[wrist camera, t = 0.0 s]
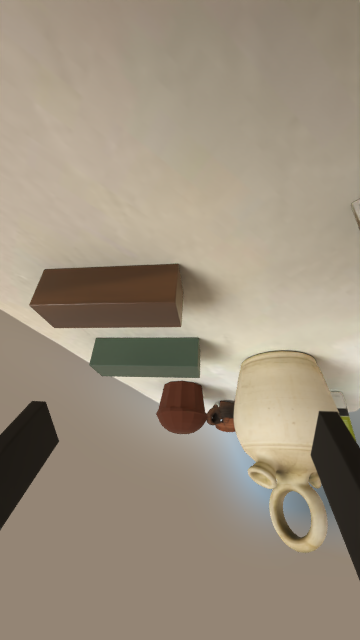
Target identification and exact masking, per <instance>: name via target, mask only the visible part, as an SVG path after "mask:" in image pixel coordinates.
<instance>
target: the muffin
mask: <svg viewBox="0 0 360 640" xmlns="http://www.w3.org/2000/svg"><path fill="white" fill-rule="evenodd" d="M157 416H158V419H159V421H160V423H161V425H162V426H163V427H164V428H165V429H167V430H168V431H170V432H173V433H177V434H190V433H194V432H195V431H197V430H199V429H200V428H201V427H202V426H203V425H204V423H205V421H206V420H207V418H208V415H207V414H206V413H205V408H204V401H203V393H202V386H201V385H198V384H196V383H194V382H185V381H177V382H169V383H167V384H165V385H164V389H163V393H162V397H161V402H160V406H159V410H158V411H157Z"/></svg>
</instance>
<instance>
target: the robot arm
mask: <svg viewBox="0 0 360 640" xmlns="http://www.w3.org/2000/svg"><path fill="white" fill-rule="evenodd" d="M58 442H59V440H58V437H57V434H56V431H55V428H54V425H53V422H52V419H51V416H50V413H49V410H48V407H47V404H46V402H40V401H32V402H31V403H30V404H29V405H28V406H27V407H26V408H25V409H24V410H23V411H22V412H21V414H19V416H18V417H17V418H16V419H15V420H14V421H13V422H12V423H11V424H10V425H9V426H8V427H7V428H6V429H5V430H4V431H3V433H2V434H1V435H0V530H1V528H2V527H3V525H4V524H5V522H6V521H7V519H8V518H9V516H10V514H11V513H12V511H13V510H14V508H15V507H16V505H17V504H18V502H19V501H20V499H21V498H22V496H23V495H24V493H25V492H26V490H27V489H28V487H29V486H30V484H31V483H32V481H33V480H34V478H35V477H36V475H37V473H38V472H39V471H40V469H41V467H42V466H43V465H44V463H45V462H46V460H47V458H48V457H49V456H50V454H51V453H52V451H53V449H54V448H55V447H56V445H57V444H58ZM311 458H312V461H313V463H314V466H315V468H316V471H317V473H318V476H319V478H320V481H321V483H322V486H323V488H324V491H325V493H326V496H327V498H328V501H329V503H330V506H331V509H332V511H333V514H334V516H335V519H336V521H337V524H338V526H339V529H340V532H341V534H342V537H343V539H344V542H345V544H346V547H347V549H348V552H349V554H350V557H351V559H352V562H353V564H354V567H355V569H356V572H357V575H358V577H359V580H360V448H359V446H358V444H357V443H356V441H355V439H354V438H353V436H352V434H351V433H350V431H349V430H348V428H347V426H346V425H345V423H344V421H343V420H342V418H341V417H340V415H339V413H338V412H336V411H319V413H318V418H317V424H316V429H315V434H314V439H313V444H312V450H311Z"/></svg>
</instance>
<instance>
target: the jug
mask: <svg viewBox="0 0 360 640" xmlns="http://www.w3.org/2000/svg"><path fill="white" fill-rule="evenodd" d="M319 411H336V412H338V409H337V407H336V404H335V402H334V400H333V398H332V395H331V393H330V391H329V388H328V386H327V384H326V381H325V379H324V377H323V374H322V373H321V371H320V369H319V368H318V366H317V364H316V361H315V359H314V358H313V357H311V356H310V355H307V354H304V353H300V352H291V351H274V352H267V353H261V354H258V355H255V356H253V357H250V358H248V359H246V360H245V361H244V362H243V363H242V365H241V370H240V373H239V378H238V384H237V390H236V396H235V405H234V427H235V431H236V434H237V437H238V439H239V441H240V443H241V445H242V447H243V449H244V451H245V452H246V453H247V454H248V455H249V456H250V457H251V458H252V459H253V460H254V461H256V463H255V464H254V465H253V466H251V467H250V468H249V469H248V474H249V476H250V477H251V478H252V479H253V480H254V481H255V482H256V483H257V484H259V485H261V486H263V487H265V488H268V489H273V490H272V493H271V496H270V503H269V506H270V515H271V519H272V522H273V525H274V527H275V529H276V531H277V533H278V535H279V536H280V538H281V539H282V540H283V541H284V542H285V543H286V544H287V545H288V546H289V547H290V548H292V549H294V550H295V551H297V552H305V553H306V552H311V551H314V550H316V549H317V548H318V547H319V546H321V544H322V543H323V541H324V539H325V537H326V534H327V525H328V523H327V515H326V510H325V507H324V504H323V502H322V500H321V498H320V497H319V495H318V494H317V493H316V491H315V490H314V489H313V488H312V487H310V485H309V483H308V482H310V484H311V485H312V486H313V487H315V488H320V487H321V481H320V478H319V476H318V473H317V471H316V468H315V466H314V463H313V461H312V458H311V450H312V444H313V439H314V434H315V429H316V424H317V418H318V413H319ZM338 413H339V412H338ZM276 479H277V481H276ZM290 491H296V492H298V493H299V494H301V495H302V496H303V497H304V498H305V500H306V501H307V503H308V505H309V508H310V512H311V527H310V530H309V532H308V533H307V535H306V536H304V537H302V538H301V537H298V536H297V535H296V534H294V533H293V532H292V530H291V529H290V528H289V526H288V525H287V522H286V520H285V517H284V514H283V500H284V497H285V496H286V494H287V493H289V492H290Z"/></svg>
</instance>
